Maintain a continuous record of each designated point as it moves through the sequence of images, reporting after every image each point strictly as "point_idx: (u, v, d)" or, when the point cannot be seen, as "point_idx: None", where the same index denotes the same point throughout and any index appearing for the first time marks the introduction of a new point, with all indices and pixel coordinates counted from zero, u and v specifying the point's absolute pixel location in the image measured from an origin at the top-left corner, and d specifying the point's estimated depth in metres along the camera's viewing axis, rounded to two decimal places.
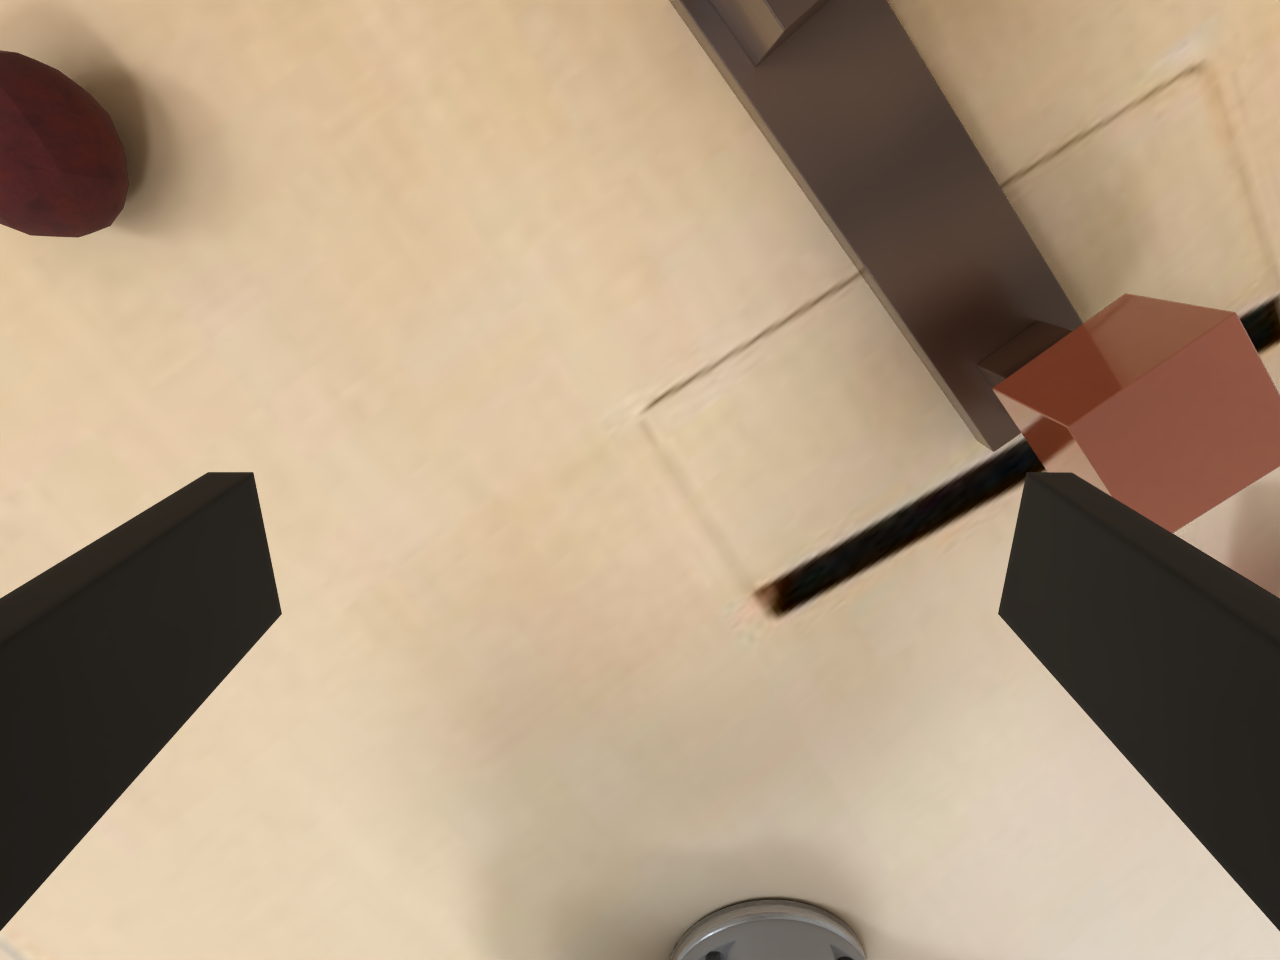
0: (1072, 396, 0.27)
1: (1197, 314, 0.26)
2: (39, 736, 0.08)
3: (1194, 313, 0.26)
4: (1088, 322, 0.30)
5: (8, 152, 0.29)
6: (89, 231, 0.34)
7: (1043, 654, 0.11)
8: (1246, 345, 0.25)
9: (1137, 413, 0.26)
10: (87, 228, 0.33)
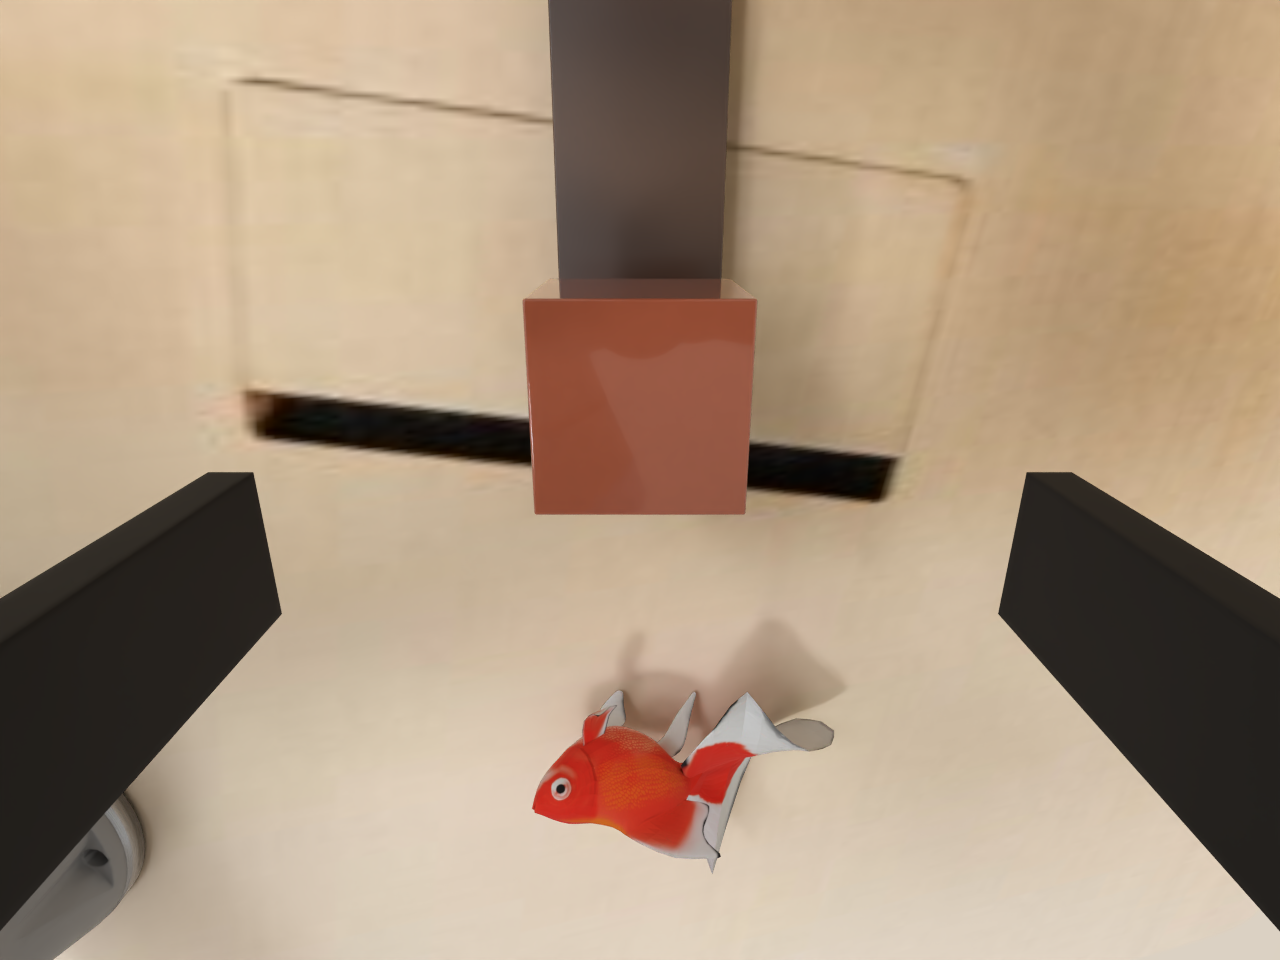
0: (570, 292, 0.21)
1: (736, 293, 0.21)
2: (39, 736, 0.08)
3: (736, 292, 0.21)
4: (677, 279, 0.25)
5: None
6: None
7: (1043, 654, 0.11)
8: (747, 347, 0.20)
9: (602, 340, 0.20)
10: None
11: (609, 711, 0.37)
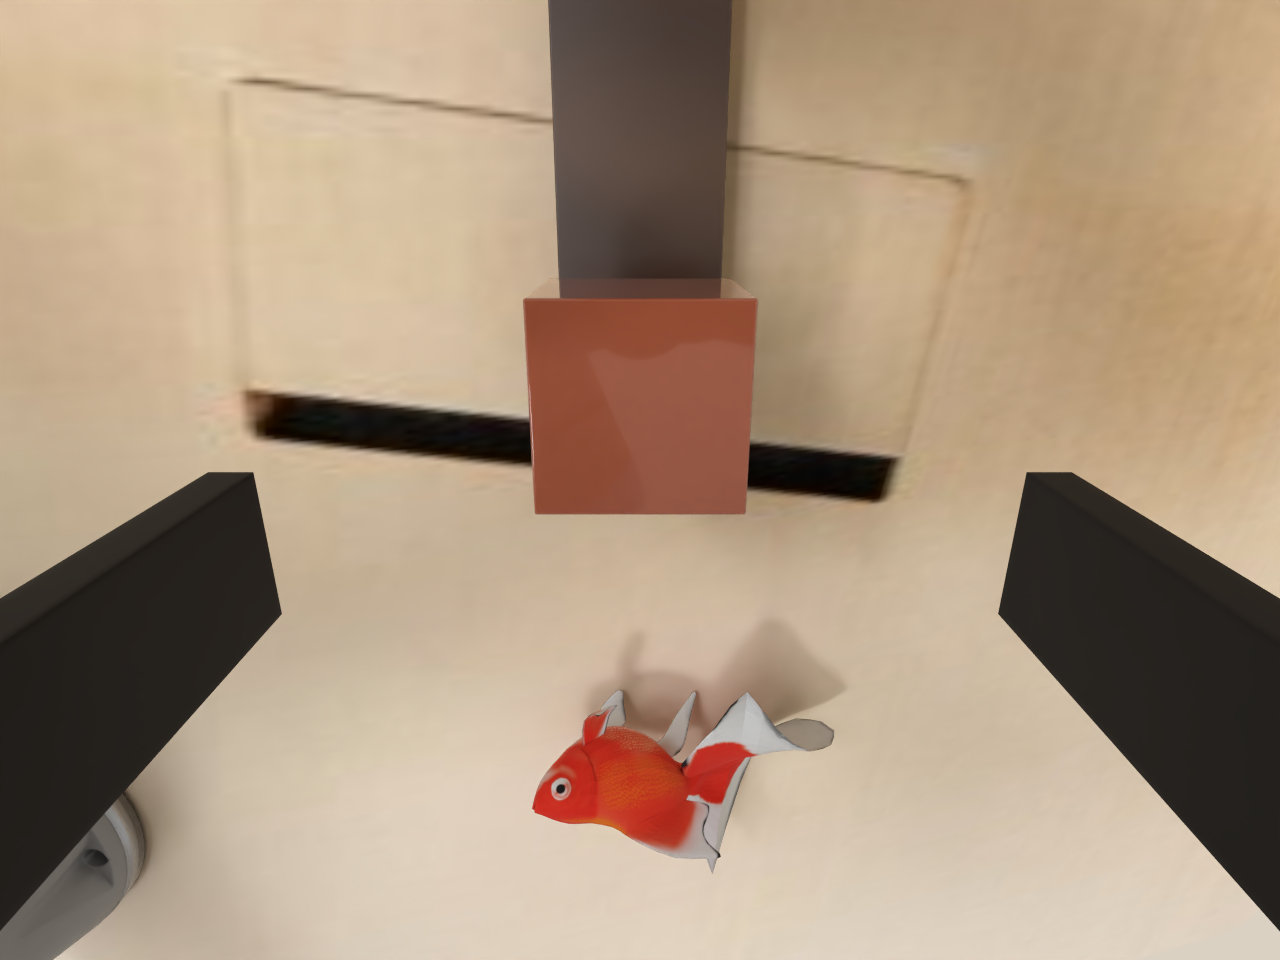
0: (570, 292, 0.21)
1: (736, 293, 0.21)
2: (39, 736, 0.08)
3: (736, 292, 0.21)
4: (678, 279, 0.25)
5: None
6: None
7: (1043, 654, 0.11)
8: (747, 347, 0.20)
9: (603, 340, 0.20)
10: None
11: (609, 711, 0.37)
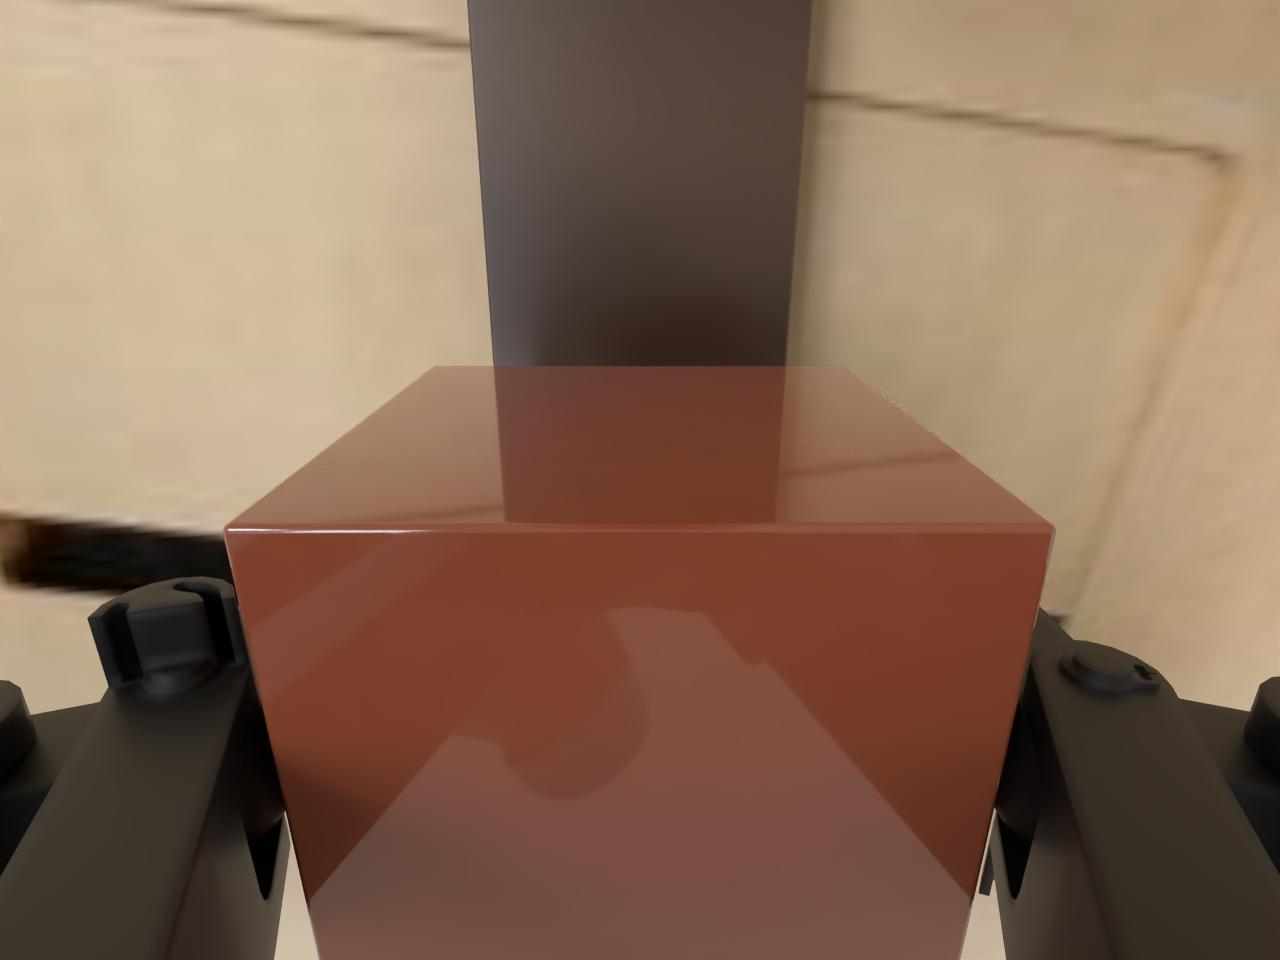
0: (428, 460, 0.07)
1: (939, 468, 0.07)
2: None
3: (933, 461, 0.07)
4: (727, 369, 0.11)
5: None
6: None
7: None
8: (1001, 671, 0.06)
9: (513, 652, 0.06)
10: None
11: None
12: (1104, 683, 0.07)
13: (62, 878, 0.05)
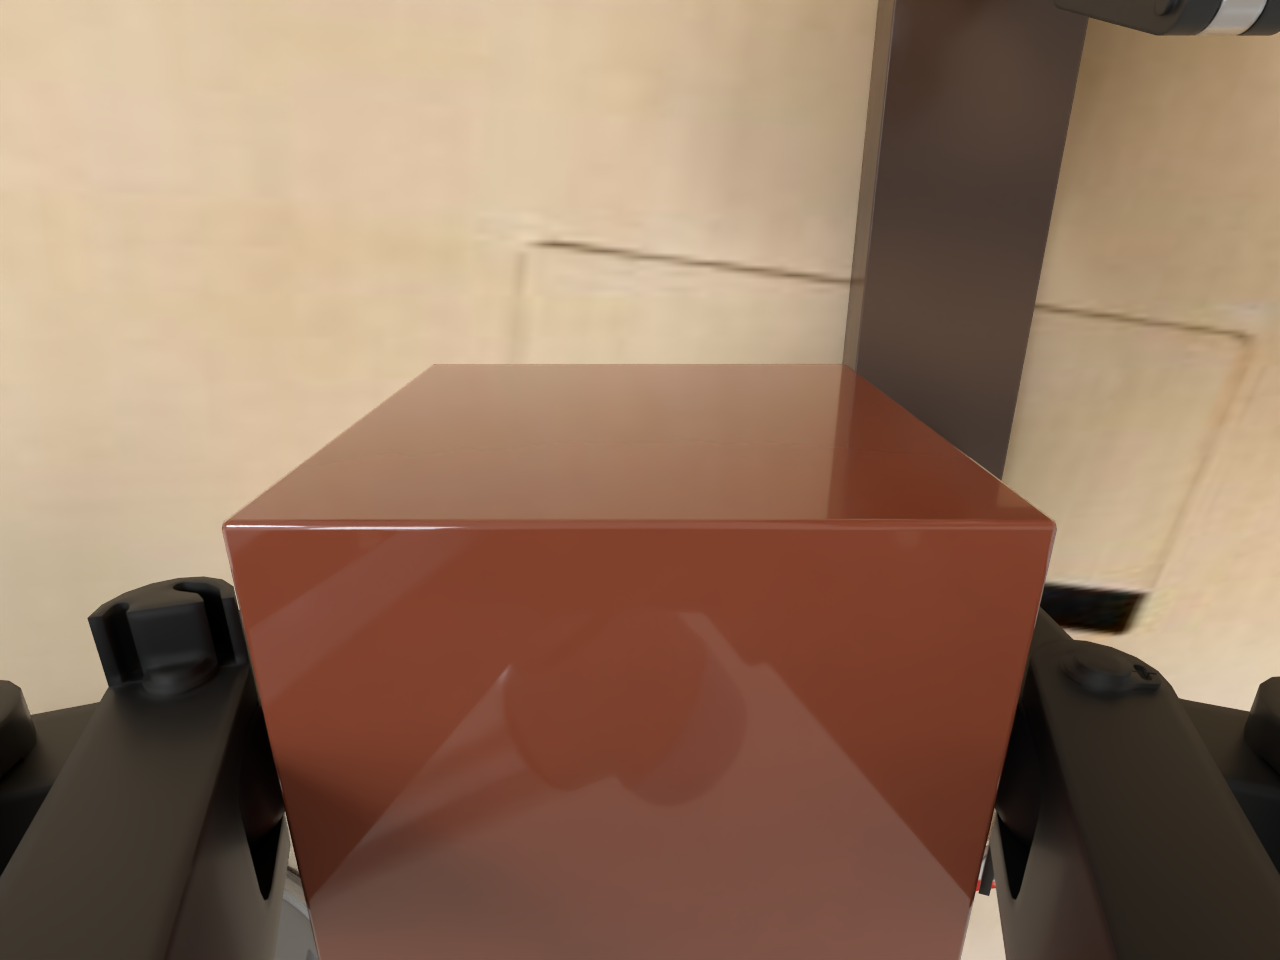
0: (428, 457, 0.07)
1: (939, 465, 0.07)
2: None
3: (934, 458, 0.07)
4: (726, 367, 0.11)
5: None
6: None
7: None
8: (1002, 669, 0.06)
9: (514, 650, 0.06)
10: None
11: None
12: (1104, 683, 0.07)
13: (63, 878, 0.05)
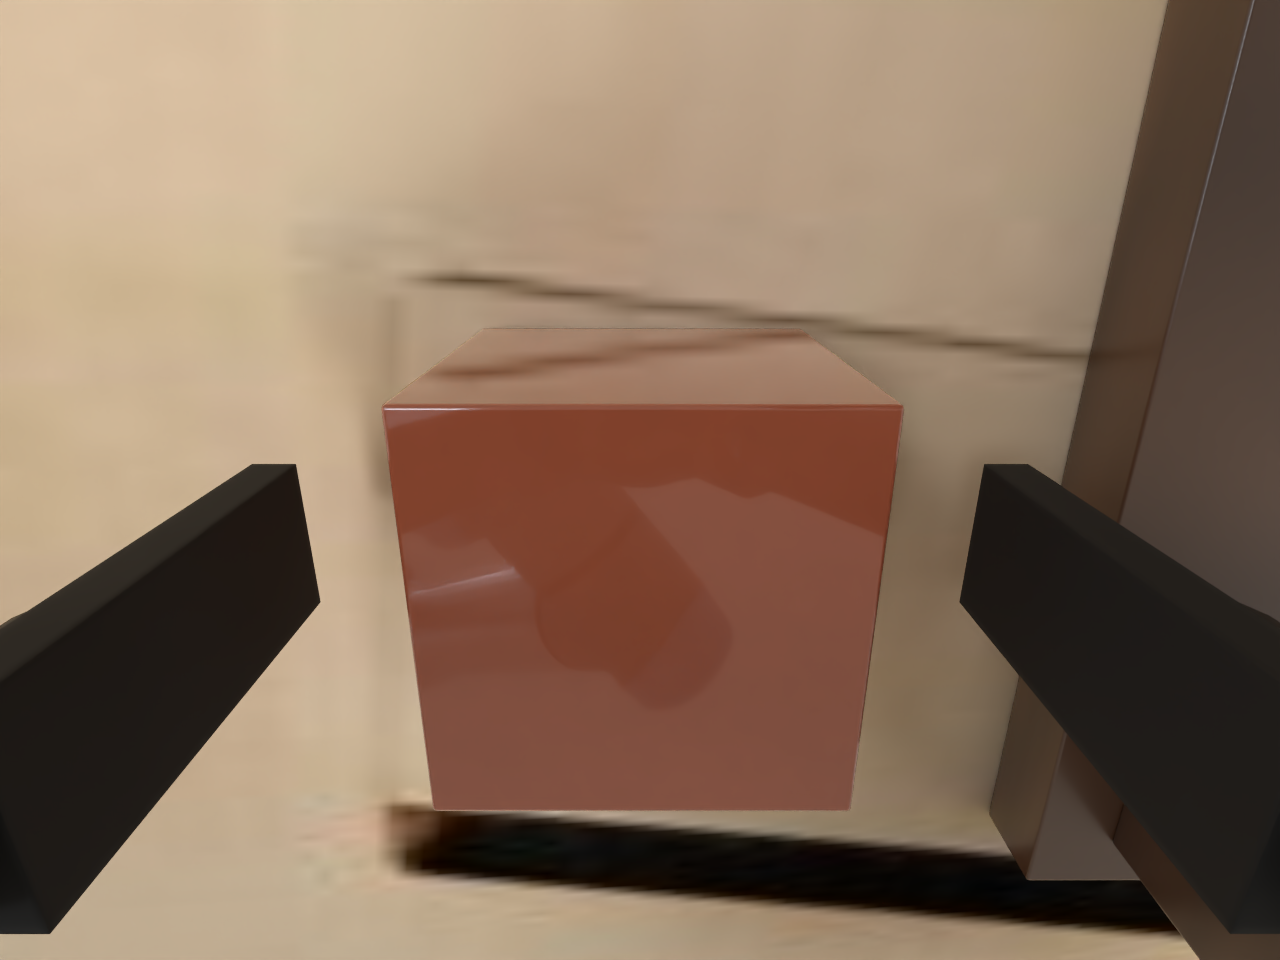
0: (499, 377, 0.10)
1: (843, 381, 0.10)
2: (114, 711, 0.08)
3: (841, 378, 0.10)
4: (709, 330, 0.14)
5: None
6: None
7: (998, 640, 0.12)
8: (875, 505, 0.09)
9: (561, 491, 0.09)
10: None
11: None
12: None
13: None
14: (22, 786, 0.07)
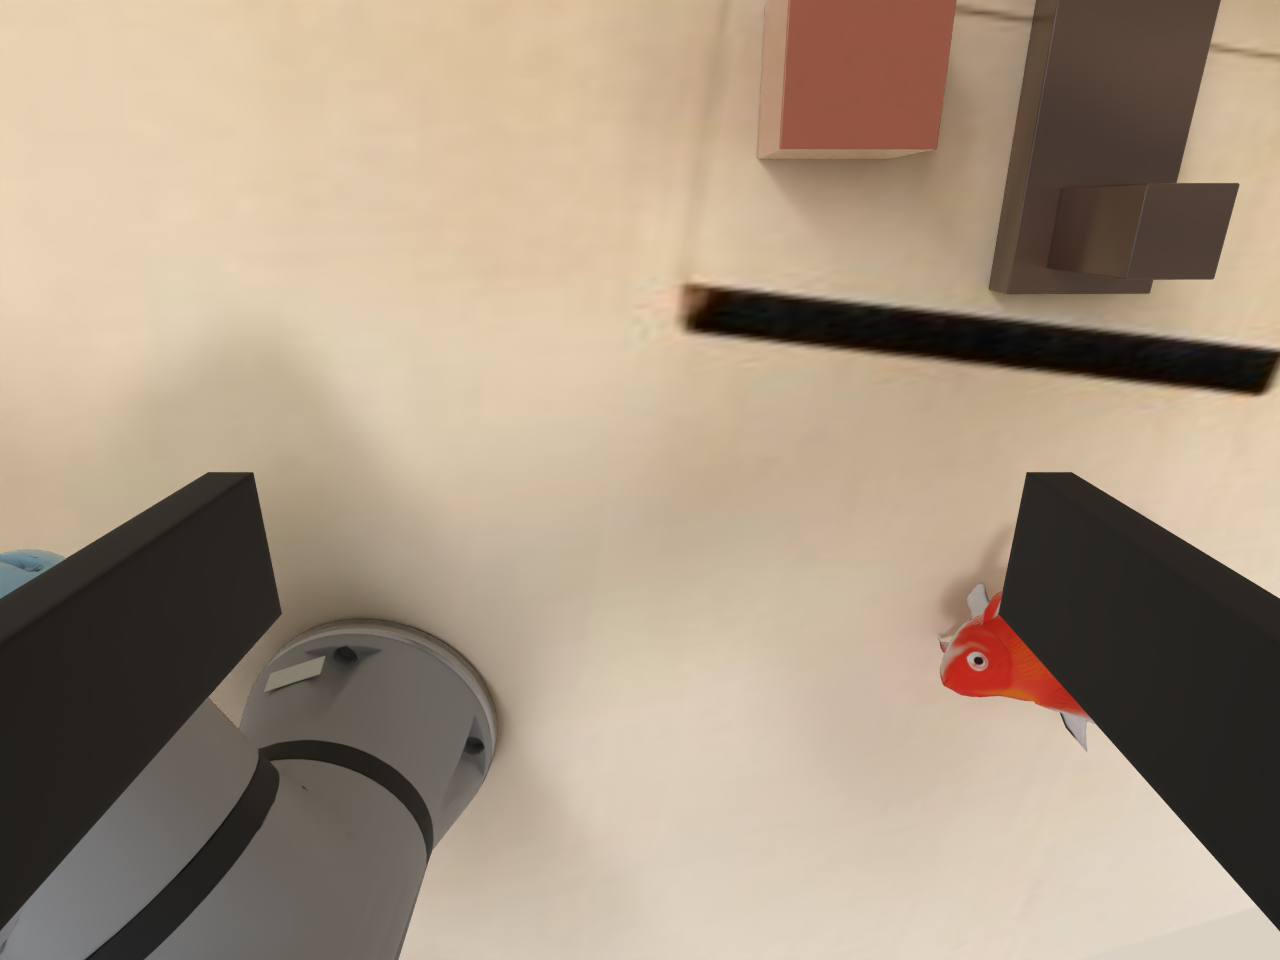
0: None
1: None
2: (39, 736, 0.08)
3: None
4: None
5: None
6: None
7: (1043, 654, 0.11)
8: (950, 2, 0.27)
9: None
10: None
11: None
12: None
13: None
14: None
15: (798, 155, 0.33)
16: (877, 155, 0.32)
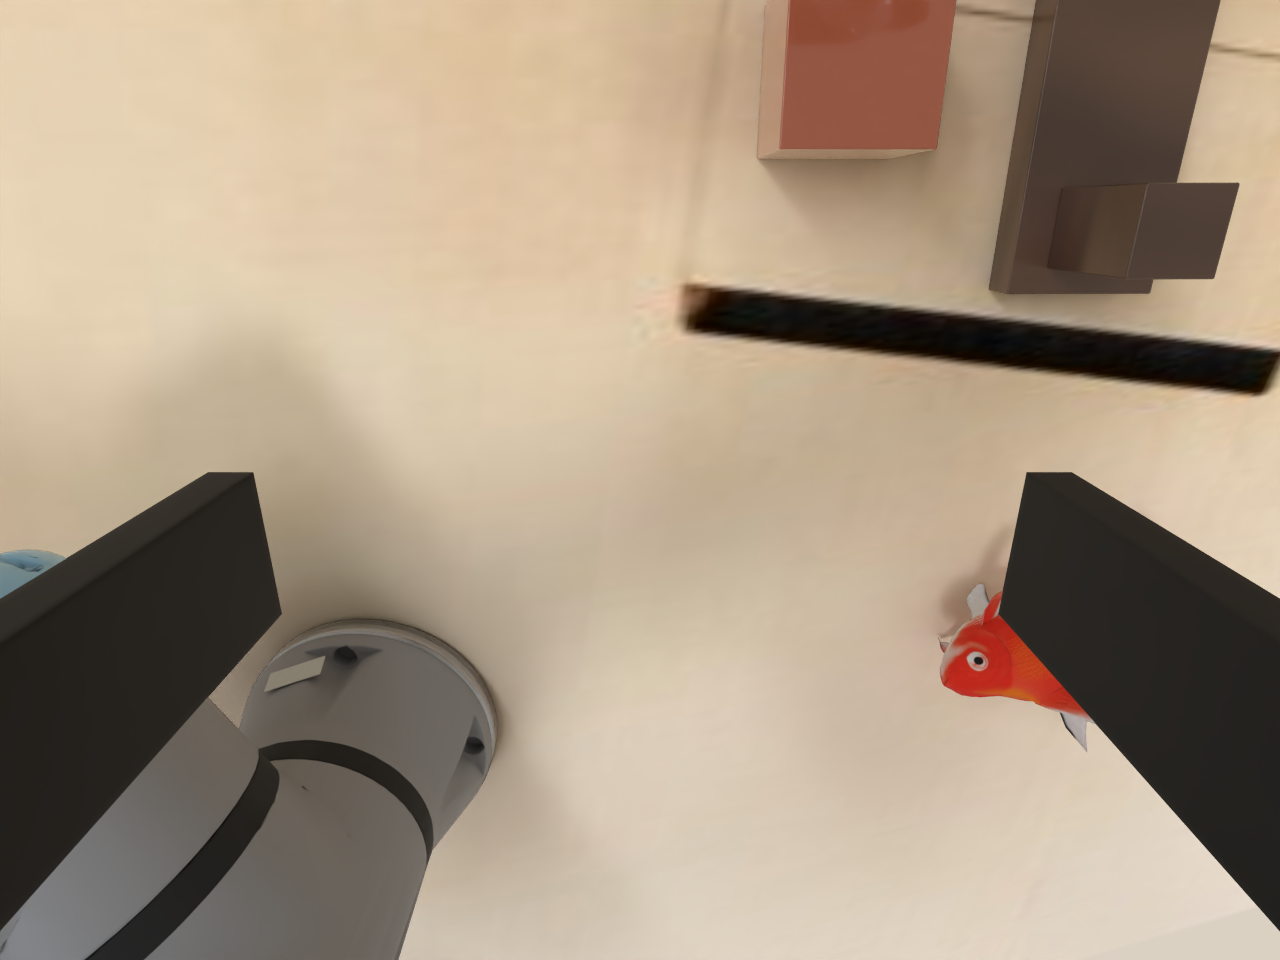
0: None
1: None
2: (39, 736, 0.08)
3: None
4: None
5: None
6: None
7: (1043, 654, 0.11)
8: (950, 2, 0.27)
9: None
10: None
11: None
12: None
13: None
14: None
15: (798, 155, 0.33)
16: (877, 155, 0.32)
